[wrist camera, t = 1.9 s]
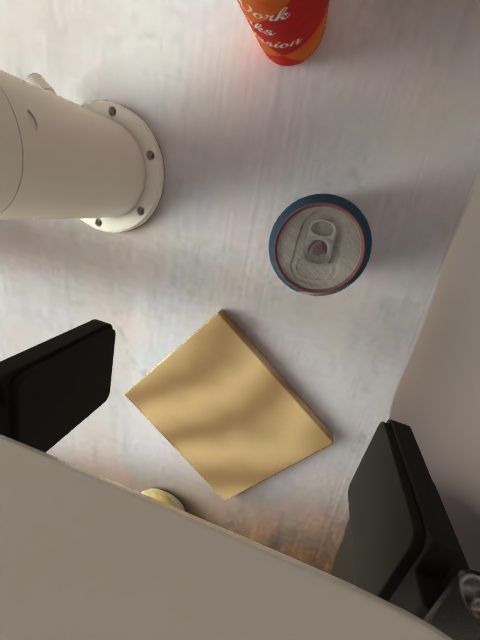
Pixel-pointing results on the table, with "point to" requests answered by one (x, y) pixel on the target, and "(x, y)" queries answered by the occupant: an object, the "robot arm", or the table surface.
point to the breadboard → (228, 409)
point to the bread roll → (164, 497)
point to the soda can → (320, 244)
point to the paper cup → (286, 27)
